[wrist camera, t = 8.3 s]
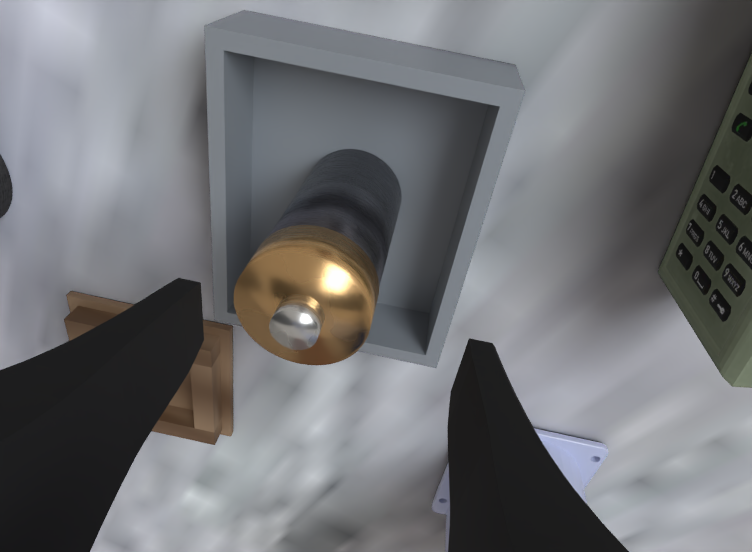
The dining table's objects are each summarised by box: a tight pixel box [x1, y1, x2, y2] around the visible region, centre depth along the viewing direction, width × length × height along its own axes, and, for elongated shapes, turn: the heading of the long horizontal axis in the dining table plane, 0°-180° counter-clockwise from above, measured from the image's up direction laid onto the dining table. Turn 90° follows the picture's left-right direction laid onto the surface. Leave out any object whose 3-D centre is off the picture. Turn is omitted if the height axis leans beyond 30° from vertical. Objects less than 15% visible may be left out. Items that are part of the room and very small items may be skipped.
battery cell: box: [234, 149, 402, 365], centre depth 18 cm, size 4×4×9 cm
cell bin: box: [204, 10, 525, 368], centre depth 21 cm, size 12×10×4 cm
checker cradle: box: [64, 291, 233, 445], centre depth 30 cm, size 9×9×2 cm
